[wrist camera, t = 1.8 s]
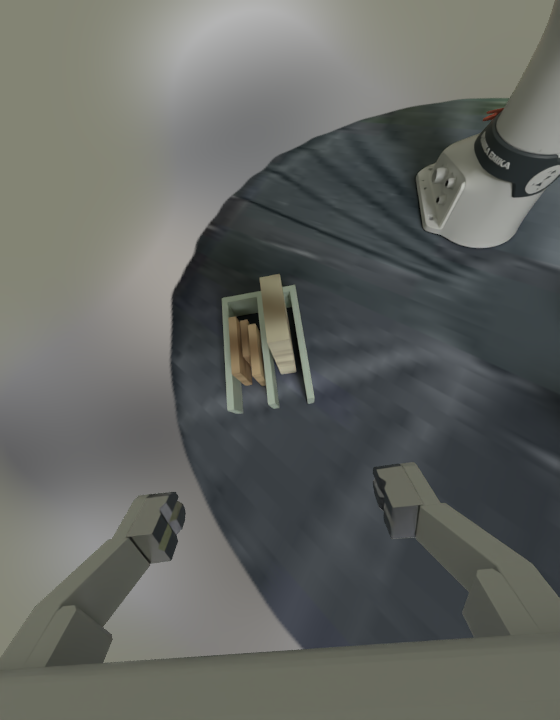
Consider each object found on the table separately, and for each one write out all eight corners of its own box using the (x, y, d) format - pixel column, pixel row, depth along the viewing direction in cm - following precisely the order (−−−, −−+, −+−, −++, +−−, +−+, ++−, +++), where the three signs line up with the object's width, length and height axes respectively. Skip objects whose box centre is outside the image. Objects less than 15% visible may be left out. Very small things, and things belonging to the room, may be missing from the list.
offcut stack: (241, 337, 43) (228, 317, 36) (263, 333, 43) (253, 313, 36) (245, 388, 40) (231, 377, 33) (268, 384, 40) (259, 373, 33)
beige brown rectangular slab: (275, 327, 43) (259, 277, 30) (289, 324, 43) (279, 273, 30) (281, 374, 40) (267, 342, 27) (296, 372, 40) (289, 339, 27)
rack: (230, 312, 45) (221, 298, 40) (296, 301, 44) (294, 284, 40) (237, 413, 39) (227, 410, 34) (314, 402, 38) (314, 397, 33)
